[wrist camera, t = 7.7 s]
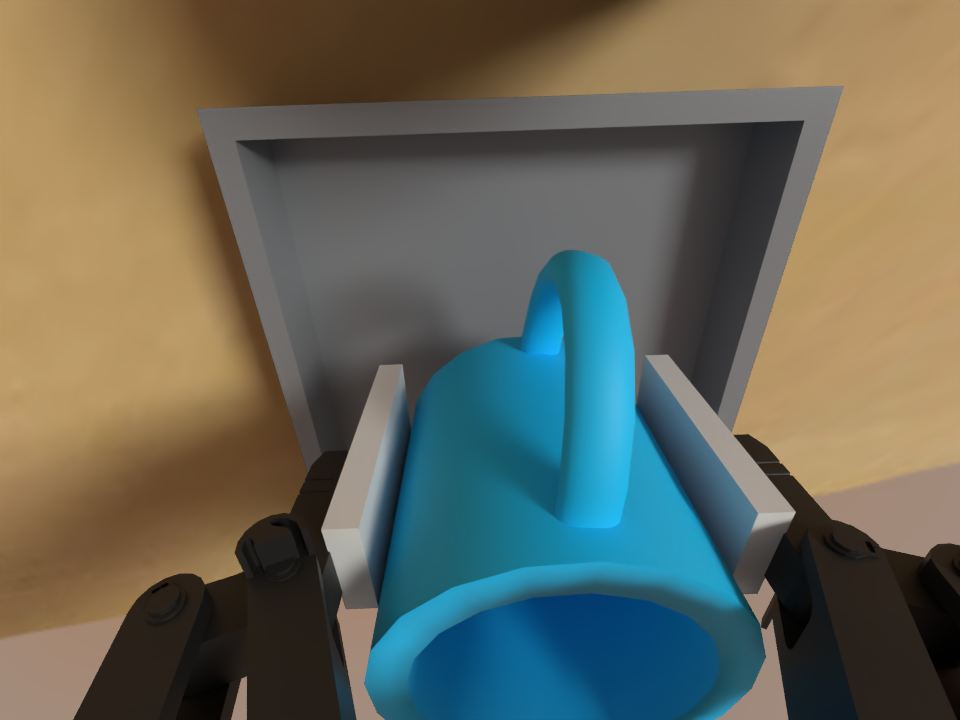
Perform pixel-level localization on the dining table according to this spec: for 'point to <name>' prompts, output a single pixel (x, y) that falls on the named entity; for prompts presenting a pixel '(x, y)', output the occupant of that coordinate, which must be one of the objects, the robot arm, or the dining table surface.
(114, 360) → the dining table surface
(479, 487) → the mug
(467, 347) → the tray
